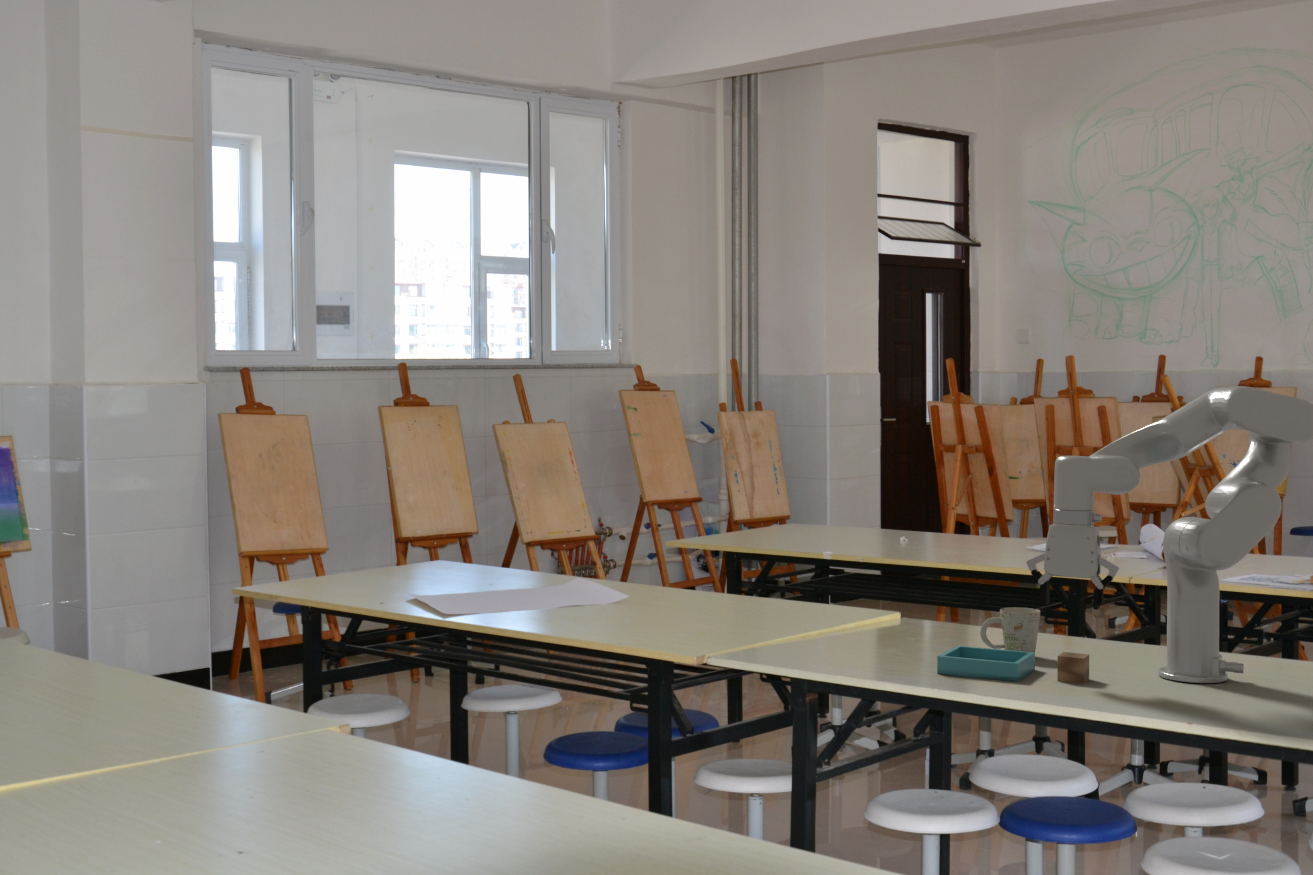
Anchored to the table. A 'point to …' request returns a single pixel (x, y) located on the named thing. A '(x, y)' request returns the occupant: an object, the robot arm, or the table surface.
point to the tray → (986, 663)
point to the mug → (1015, 629)
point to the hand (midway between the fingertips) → (1070, 606)
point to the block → (1073, 667)
